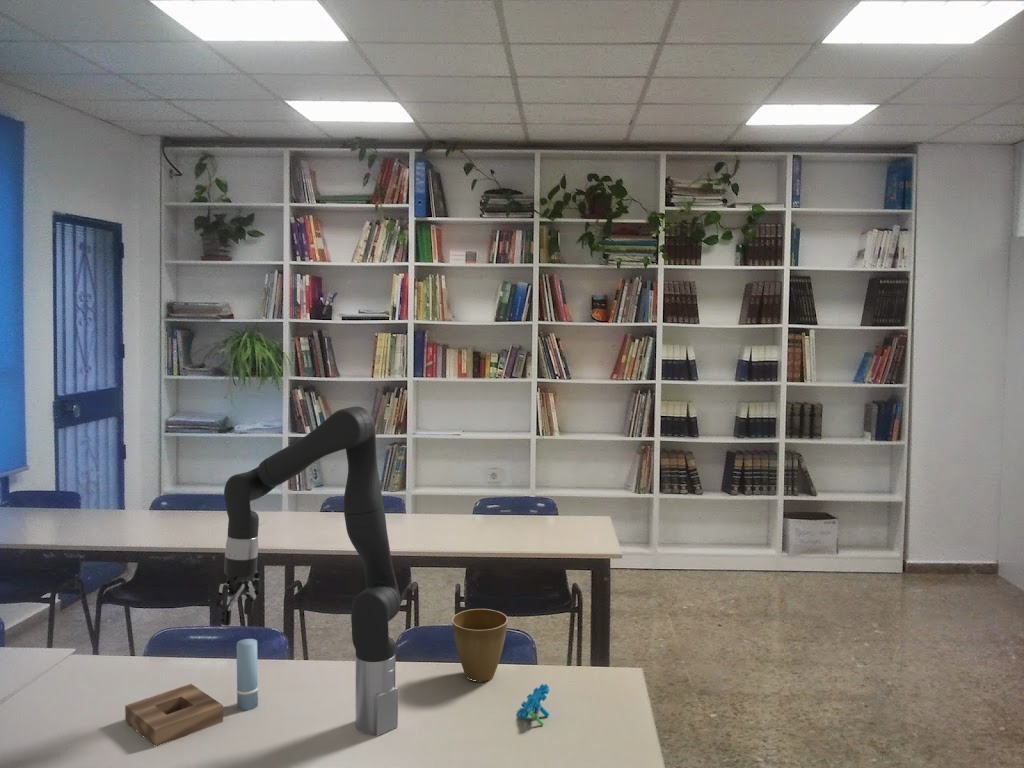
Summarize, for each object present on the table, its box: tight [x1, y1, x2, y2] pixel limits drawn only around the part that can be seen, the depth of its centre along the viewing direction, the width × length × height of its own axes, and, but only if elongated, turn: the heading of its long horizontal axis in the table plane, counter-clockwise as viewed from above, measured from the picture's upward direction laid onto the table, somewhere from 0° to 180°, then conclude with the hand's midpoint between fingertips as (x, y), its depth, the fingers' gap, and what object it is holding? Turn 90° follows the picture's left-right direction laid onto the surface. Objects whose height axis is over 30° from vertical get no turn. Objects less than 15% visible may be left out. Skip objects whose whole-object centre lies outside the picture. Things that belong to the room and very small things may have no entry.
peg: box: [236, 638, 259, 711], centre depth 199 cm, size 5×5×16 cm
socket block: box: [124, 683, 224, 747], centre depth 191 cm, size 16×16×4 cm
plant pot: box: [451, 608, 508, 682], centre depth 217 cm, size 15×15×16 cm
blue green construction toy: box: [517, 683, 550, 727], centre depth 196 cm, size 11×6×10 cm
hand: (237, 619), depth 197 cm, fingers open, 8 cm apart
